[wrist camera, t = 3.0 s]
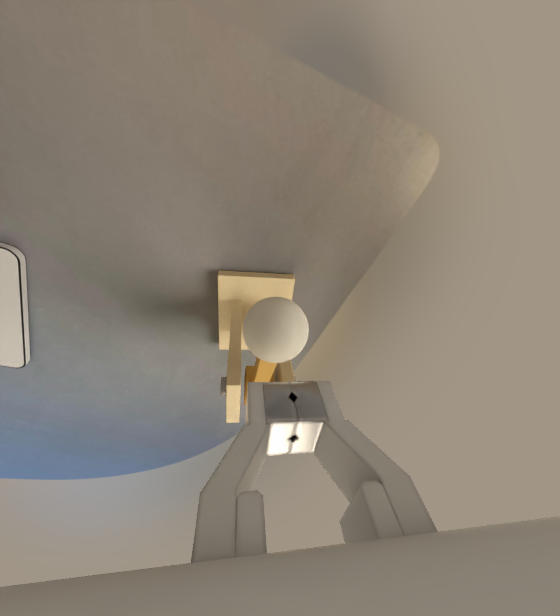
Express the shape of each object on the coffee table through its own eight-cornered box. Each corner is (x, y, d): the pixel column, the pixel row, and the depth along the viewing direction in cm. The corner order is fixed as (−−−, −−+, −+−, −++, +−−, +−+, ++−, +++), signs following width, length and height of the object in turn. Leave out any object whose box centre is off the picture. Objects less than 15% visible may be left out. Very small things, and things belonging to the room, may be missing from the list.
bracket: (218, 270, 26) (201, 355, 16) (293, 274, 28) (324, 356, 17) (219, 343, 32) (207, 443, 21) (282, 343, 33) (300, 438, 22)
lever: (244, 281, 12) (243, 346, 10) (311, 285, 12) (321, 346, 10) (239, 372, 22) (238, 410, 21) (274, 371, 23) (276, 408, 21)
